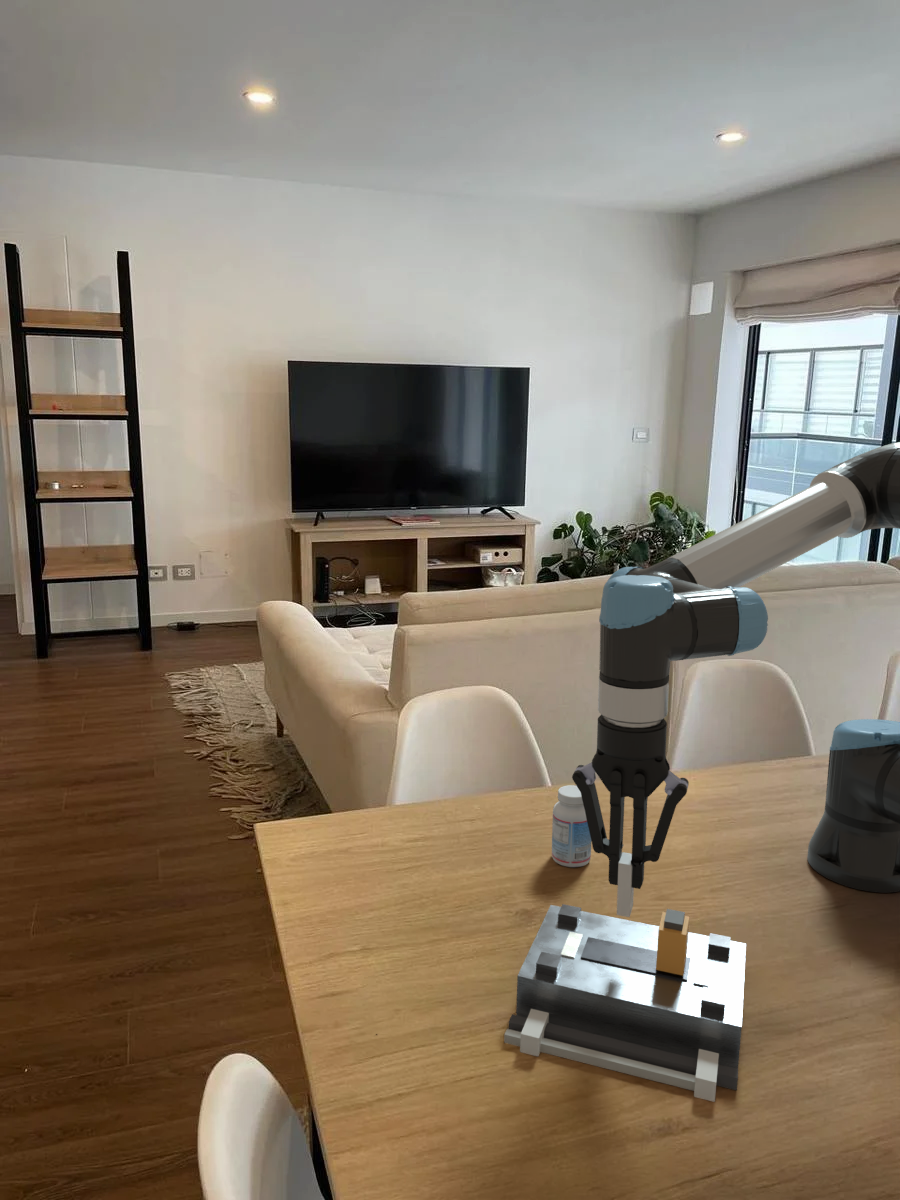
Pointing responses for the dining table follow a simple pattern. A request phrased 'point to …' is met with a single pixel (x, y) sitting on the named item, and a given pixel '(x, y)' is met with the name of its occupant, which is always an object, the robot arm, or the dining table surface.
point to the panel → (634, 984)
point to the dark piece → (621, 1055)
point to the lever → (672, 942)
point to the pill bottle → (570, 829)
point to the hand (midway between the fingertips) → (624, 909)
